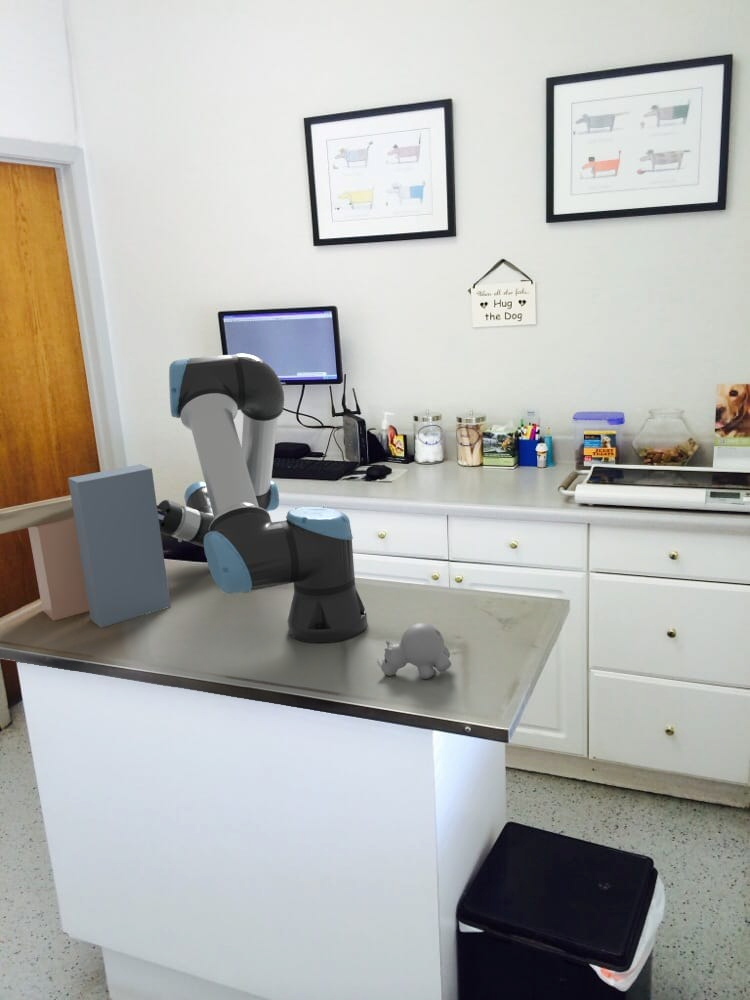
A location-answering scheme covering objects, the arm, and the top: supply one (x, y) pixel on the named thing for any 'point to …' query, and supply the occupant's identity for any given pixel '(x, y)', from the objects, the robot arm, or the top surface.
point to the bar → (36, 514)
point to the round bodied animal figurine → (417, 651)
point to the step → (59, 569)
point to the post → (119, 543)
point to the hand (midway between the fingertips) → (80, 488)
